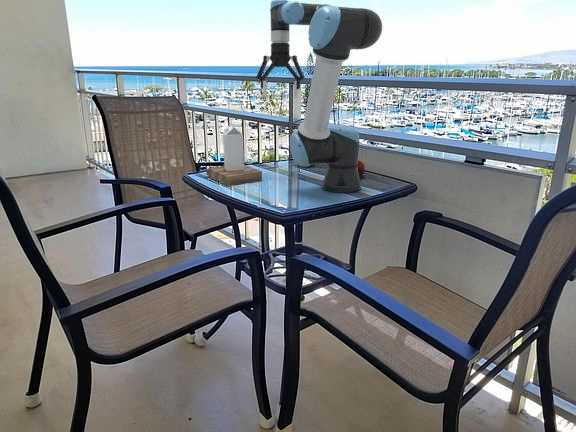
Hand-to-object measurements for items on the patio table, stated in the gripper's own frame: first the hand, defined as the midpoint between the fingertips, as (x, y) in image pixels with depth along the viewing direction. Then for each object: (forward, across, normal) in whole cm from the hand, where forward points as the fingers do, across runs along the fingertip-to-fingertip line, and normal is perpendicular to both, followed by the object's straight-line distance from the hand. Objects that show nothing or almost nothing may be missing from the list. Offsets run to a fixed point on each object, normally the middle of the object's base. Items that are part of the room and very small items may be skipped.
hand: (280, 97), depth 176 cm
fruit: (+33, -32, -1) cm, 46 cm away
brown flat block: (+33, +16, +16) cm, 39 cm away
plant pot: (+33, -7, -18) cm, 38 cm away
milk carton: (+29, +16, +15) cm, 36 cm away
